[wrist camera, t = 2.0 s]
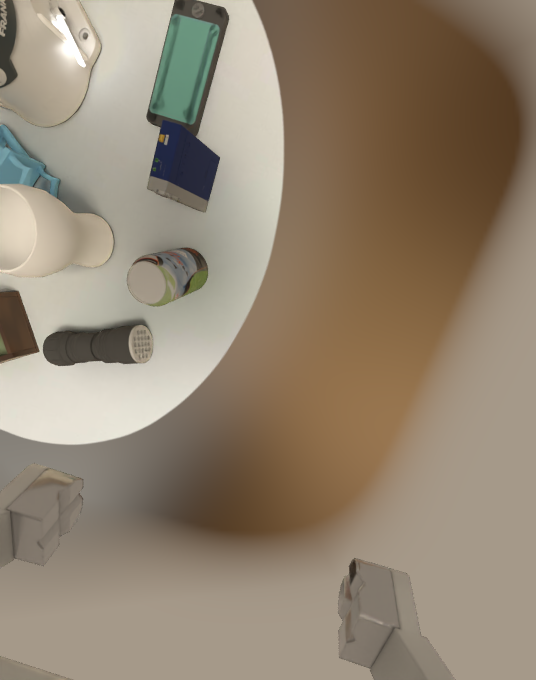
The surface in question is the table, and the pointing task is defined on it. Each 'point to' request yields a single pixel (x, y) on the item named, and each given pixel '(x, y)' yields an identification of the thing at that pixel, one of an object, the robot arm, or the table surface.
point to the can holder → (14, 328)
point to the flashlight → (100, 346)
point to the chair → (20, 164)
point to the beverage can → (166, 276)
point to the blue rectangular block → (182, 167)
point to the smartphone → (187, 63)
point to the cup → (47, 234)
